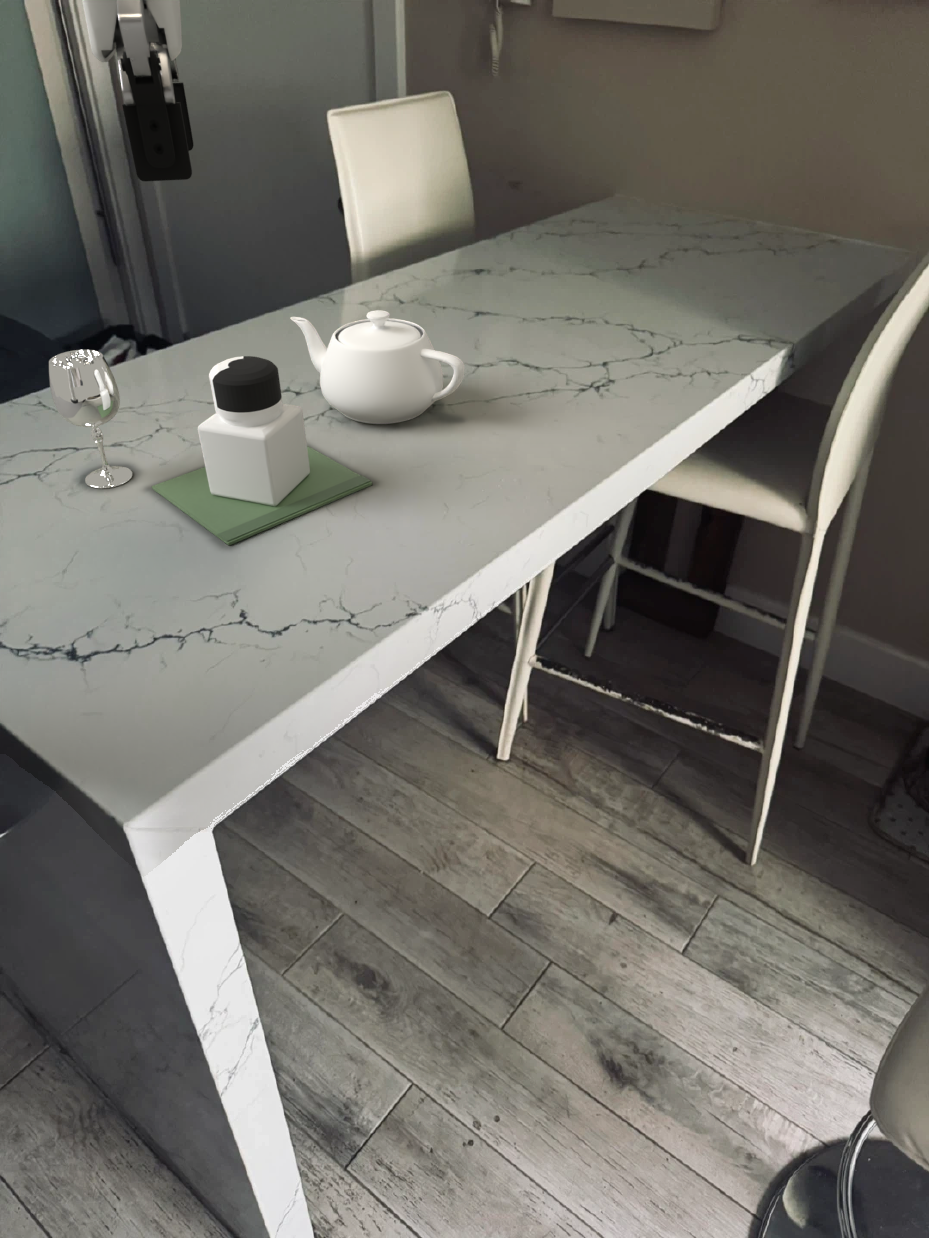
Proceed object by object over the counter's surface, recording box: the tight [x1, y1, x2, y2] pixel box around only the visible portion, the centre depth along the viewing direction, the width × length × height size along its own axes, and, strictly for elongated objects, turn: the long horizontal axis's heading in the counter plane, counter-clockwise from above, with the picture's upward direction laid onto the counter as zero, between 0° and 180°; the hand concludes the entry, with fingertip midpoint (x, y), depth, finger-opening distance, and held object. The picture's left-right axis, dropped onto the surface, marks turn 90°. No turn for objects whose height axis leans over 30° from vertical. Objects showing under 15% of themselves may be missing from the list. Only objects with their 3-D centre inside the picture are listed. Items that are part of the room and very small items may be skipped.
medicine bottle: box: [197, 355, 310, 506], centre depth 81 cm, size 7×7×12 cm
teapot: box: [289, 309, 466, 425], centre depth 96 cm, size 22×14×11 cm, turn 63°
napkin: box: [151, 445, 373, 546], centre depth 84 cm, size 16×14×1 cm
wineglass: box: [48, 349, 134, 489], centre depth 82 cm, size 6×6×12 cm
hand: (168, 164), depth 57 cm, fingers open, 9 cm apart
